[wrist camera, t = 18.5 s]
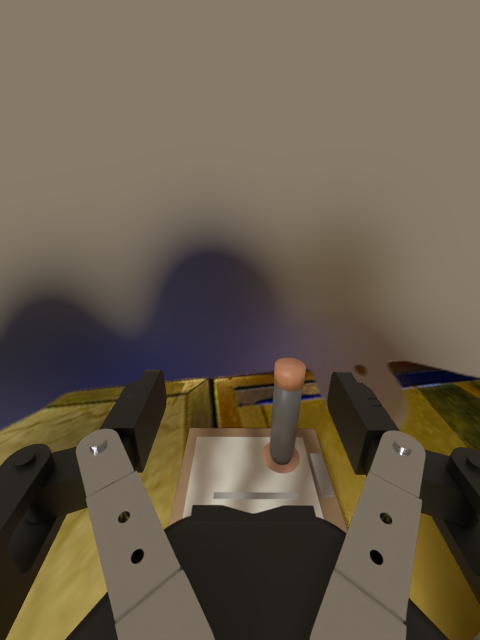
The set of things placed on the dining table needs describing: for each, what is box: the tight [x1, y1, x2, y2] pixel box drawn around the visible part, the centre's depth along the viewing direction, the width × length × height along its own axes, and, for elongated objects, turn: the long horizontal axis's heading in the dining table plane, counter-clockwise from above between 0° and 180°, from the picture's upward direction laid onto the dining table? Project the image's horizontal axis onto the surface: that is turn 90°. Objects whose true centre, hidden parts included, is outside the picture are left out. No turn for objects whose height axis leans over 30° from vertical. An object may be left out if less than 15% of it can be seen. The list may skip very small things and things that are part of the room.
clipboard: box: [169, 428, 348, 534], centre depth 38 cm, size 21×17×2 cm
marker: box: [269, 358, 306, 465], centre depth 37 cm, size 4×4×16 cm
